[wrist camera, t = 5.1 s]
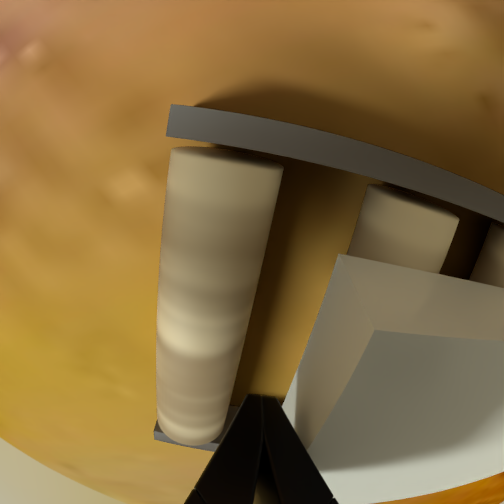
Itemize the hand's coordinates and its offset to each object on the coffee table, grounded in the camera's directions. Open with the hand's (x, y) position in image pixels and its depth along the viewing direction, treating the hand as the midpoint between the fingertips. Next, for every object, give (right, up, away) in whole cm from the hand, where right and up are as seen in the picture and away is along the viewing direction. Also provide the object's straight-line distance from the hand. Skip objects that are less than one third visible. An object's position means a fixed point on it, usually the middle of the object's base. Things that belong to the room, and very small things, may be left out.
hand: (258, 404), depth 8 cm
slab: (+9, -1, +2) cm, 9 cm away
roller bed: (+9, 0, +4) cm, 10 cm away
